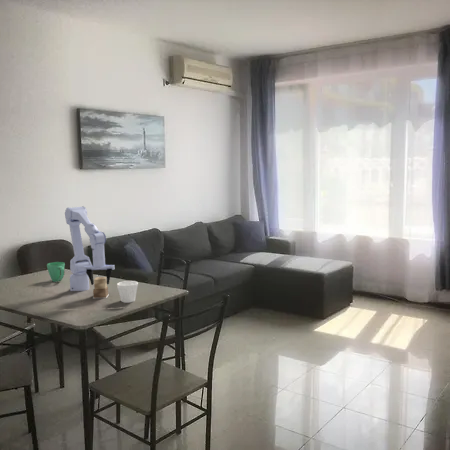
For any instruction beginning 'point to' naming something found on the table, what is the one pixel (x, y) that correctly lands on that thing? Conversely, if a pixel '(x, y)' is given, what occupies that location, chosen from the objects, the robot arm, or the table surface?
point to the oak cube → (100, 283)
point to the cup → (127, 290)
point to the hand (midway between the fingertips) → (100, 284)
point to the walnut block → (100, 293)
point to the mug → (56, 270)
